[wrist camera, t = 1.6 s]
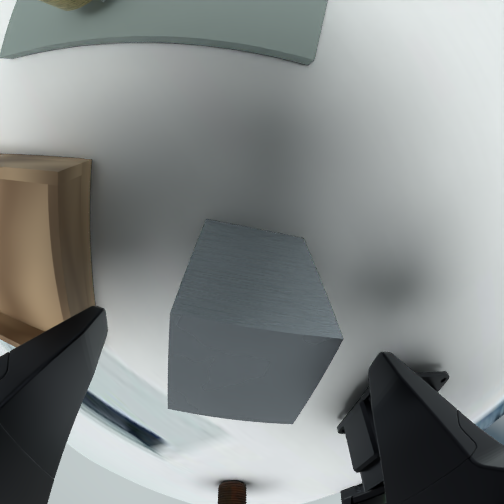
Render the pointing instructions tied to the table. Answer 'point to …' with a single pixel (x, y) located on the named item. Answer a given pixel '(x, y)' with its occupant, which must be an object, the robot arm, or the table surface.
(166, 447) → the table surface
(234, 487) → the bolt
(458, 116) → the table surface
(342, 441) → the table surface
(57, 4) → the crank
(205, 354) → the block
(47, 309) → the tray
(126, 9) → the crank base
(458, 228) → the table surface
